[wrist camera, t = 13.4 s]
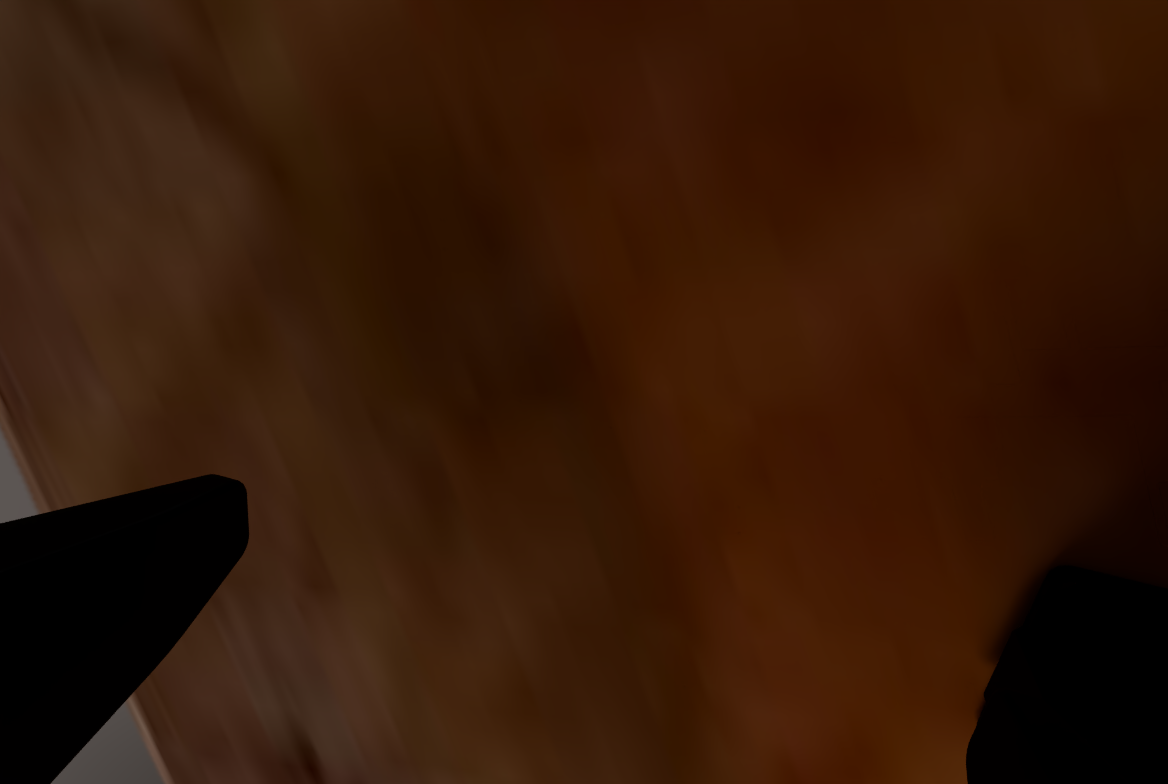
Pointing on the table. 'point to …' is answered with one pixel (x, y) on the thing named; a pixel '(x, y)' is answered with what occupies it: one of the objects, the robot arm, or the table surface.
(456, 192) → the table surface
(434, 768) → the table surface
